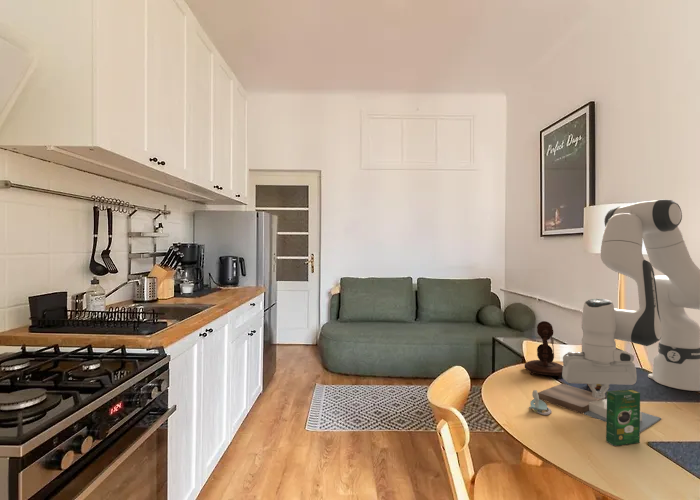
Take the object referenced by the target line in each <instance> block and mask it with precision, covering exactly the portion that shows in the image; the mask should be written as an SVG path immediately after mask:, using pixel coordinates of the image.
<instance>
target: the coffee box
mask: <svg viewBox="0 0 700 500" xmlns="http://www.w3.org/2000/svg"><path fill="white" fill-rule="evenodd" d="M606 399H607V419H606V422H605V423H606V424H605V427H606V428H605V431H606V432H605V442H606V443H608V444H610V445H611V446H614V447H616V446H623V445H624V446H625V445H633V444H638V443H640V439H641V436H640V435H641V434H640V411H641V392H639V391H637V390H634V389H631V388H630V389H629V388H628V389H619V390H607V391H606Z"/></svg>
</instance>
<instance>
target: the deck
mask: <svg viewBox="0 0 700 500" xmlns="http://www.w3.org/2000/svg"><path fill="white" fill-rule="evenodd" d="M537 392H538V391H537ZM538 396H539V399H540V400H542V401H544V402H545V403H546V402H547V403H549V404H552V405H556V406H559V407H562V408H564V409H567V410H570V411H573V412H576V413H580V414H582V415H584V413H585V412H587V411H589V402H593V401H599V400H604V399H607V395H605V398H594V397H593V396H592V391H590V390H585V389H582V388H579V387H575V386H571V385H569V384H566V383H565V384H564V383H559V384H557V385H554V386H552V387H549V388H546V389H544V390H540V391H539V392H538Z"/></svg>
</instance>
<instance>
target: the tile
mask: <svg viewBox="0 0 700 500" xmlns="http://www.w3.org/2000/svg"><path fill="white" fill-rule="evenodd" d="M589 411H591V412H594V413H596V414H598V415H600V416H603V417H605V418H607V398H606V399H604V400H599V401H593V402H589ZM642 412H643V411H641V410H640V421H642Z"/></svg>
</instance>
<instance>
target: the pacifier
mask: <svg viewBox="0 0 700 500" xmlns="http://www.w3.org/2000/svg"><path fill="white" fill-rule="evenodd" d="M531 396H532V398H533V399H532V400H531V401H530V406H528V408H529V409H531V410H533V412H534V413H535V414H536V413H537V414H539V415H542V416H548V415H550V414H552V409H551V408H550V407H548V405H547V403H546V401H543V400H540V399H539V396H538V391H537V389H534V390H533V391H532V395H531Z"/></svg>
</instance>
